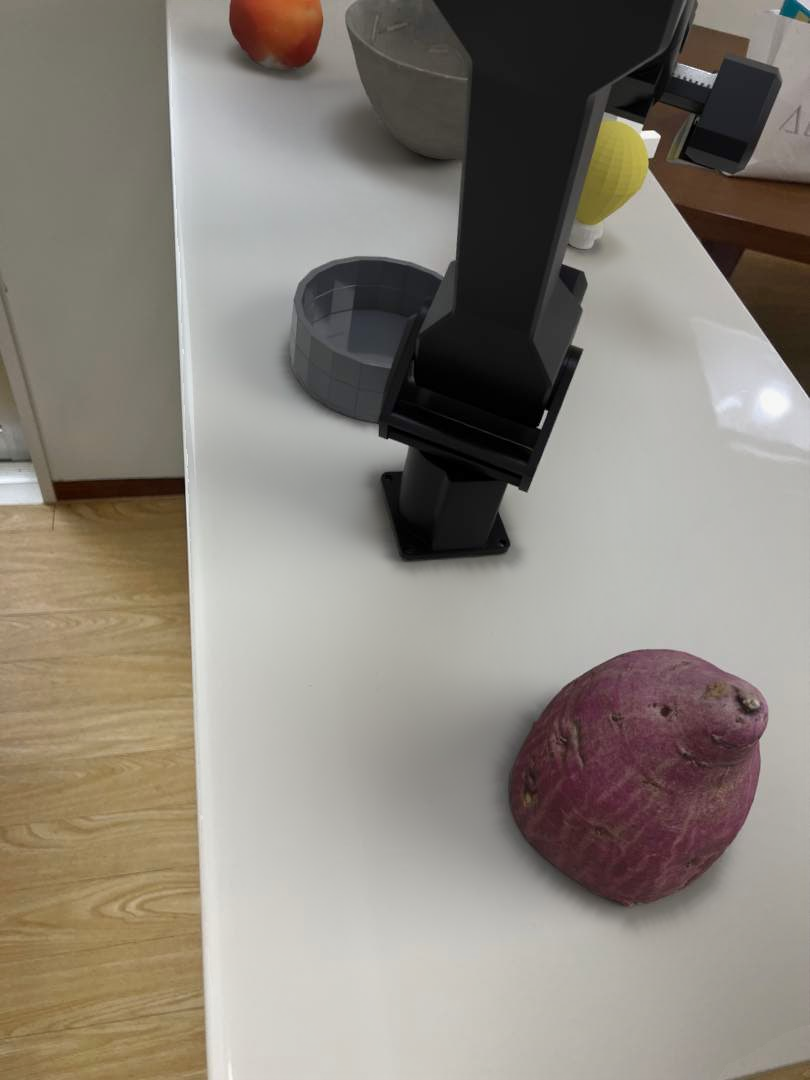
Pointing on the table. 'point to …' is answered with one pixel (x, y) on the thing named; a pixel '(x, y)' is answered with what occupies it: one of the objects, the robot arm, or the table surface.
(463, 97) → the bowl
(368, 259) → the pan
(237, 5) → the red apple
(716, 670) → the vegetable
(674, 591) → the table surface
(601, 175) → the light bulb
